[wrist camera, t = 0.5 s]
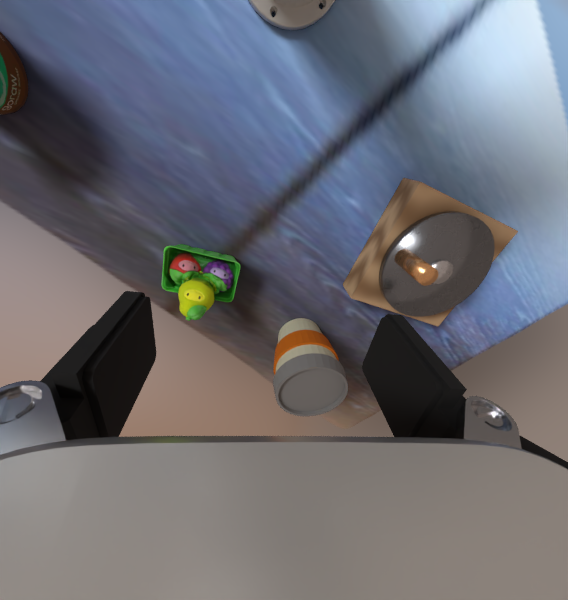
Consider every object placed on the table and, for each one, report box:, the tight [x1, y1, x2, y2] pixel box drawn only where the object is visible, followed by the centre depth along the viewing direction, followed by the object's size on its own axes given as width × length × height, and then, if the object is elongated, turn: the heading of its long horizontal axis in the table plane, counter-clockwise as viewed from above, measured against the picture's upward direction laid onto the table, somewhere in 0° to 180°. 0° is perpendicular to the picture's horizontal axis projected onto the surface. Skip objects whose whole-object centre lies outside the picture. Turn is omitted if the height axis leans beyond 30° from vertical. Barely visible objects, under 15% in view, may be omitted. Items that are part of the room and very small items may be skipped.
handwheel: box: [379, 211, 495, 317], centre depth 39 cm, size 18×18×9 cm
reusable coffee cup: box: [273, 318, 348, 416], centre depth 49 cm, size 13×12×15 cm
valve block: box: [343, 178, 518, 326], centre depth 45 cm, size 20×20×5 cm
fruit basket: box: [162, 244, 240, 321], centre depth 40 cm, size 11×9×11 cm
